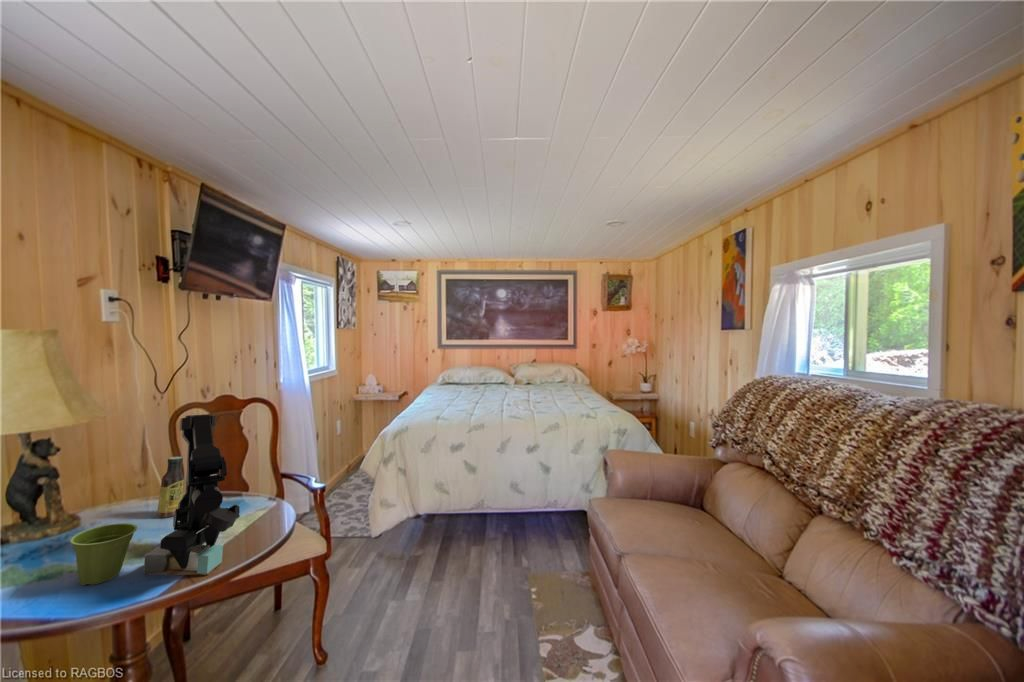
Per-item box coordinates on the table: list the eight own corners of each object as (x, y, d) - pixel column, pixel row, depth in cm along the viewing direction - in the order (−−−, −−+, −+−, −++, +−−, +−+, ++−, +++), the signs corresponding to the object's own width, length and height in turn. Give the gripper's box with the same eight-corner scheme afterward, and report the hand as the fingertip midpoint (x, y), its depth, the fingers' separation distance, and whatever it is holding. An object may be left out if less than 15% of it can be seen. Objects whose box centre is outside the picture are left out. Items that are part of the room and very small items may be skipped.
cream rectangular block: (163, 570, 100) (164, 551, 100) (175, 562, 104) (176, 544, 104) (206, 570, 100) (207, 552, 101) (216, 562, 104) (218, 545, 104)
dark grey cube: (143, 572, 99) (145, 554, 99) (161, 560, 104) (162, 544, 104) (163, 572, 99) (165, 555, 99) (180, 561, 104) (181, 544, 105)
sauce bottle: (169, 519, 129) (174, 461, 130) (151, 518, 130) (157, 460, 130) (186, 511, 136) (191, 456, 137) (169, 510, 136) (174, 455, 137)
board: (144, 574, 99) (144, 571, 99) (160, 563, 104) (160, 561, 104) (207, 575, 100) (207, 572, 100) (220, 564, 105) (221, 562, 105)
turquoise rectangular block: (197, 573, 99) (198, 555, 100) (212, 561, 105) (213, 545, 105) (206, 573, 100) (208, 555, 100) (221, 561, 105) (223, 545, 105)
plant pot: (89, 595, 90) (94, 547, 90) (51, 587, 92) (56, 540, 92) (145, 568, 101) (149, 526, 102) (110, 561, 103) (114, 520, 104)
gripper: (208, 516, 94) (202, 579, 93) (254, 489, 113) (250, 542, 112) (161, 514, 93) (155, 579, 93) (215, 488, 112) (210, 541, 111)
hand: (197, 558), depth 102 cm, fingers open, 9 cm apart
